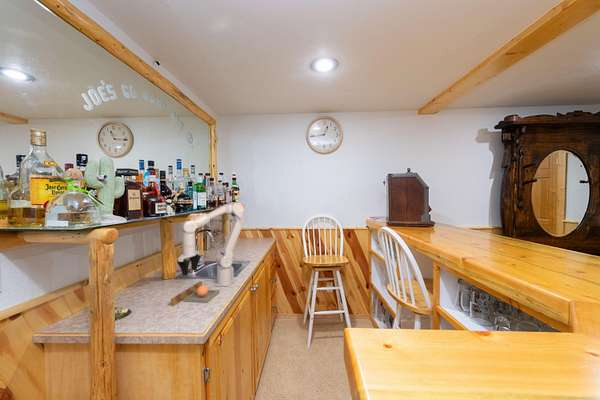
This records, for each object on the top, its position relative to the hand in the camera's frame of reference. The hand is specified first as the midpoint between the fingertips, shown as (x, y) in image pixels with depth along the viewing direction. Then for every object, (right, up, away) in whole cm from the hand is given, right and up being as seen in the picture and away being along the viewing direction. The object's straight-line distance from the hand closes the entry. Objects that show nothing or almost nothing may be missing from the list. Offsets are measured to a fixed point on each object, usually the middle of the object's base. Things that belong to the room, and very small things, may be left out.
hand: (189, 272), depth 122 cm
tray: (+9, -9, -7) cm, 15 cm away
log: (-20, -11, -24) cm, 33 cm away
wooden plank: (+1, -9, -5) cm, 11 cm away
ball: (+9, -6, -7) cm, 13 cm away
